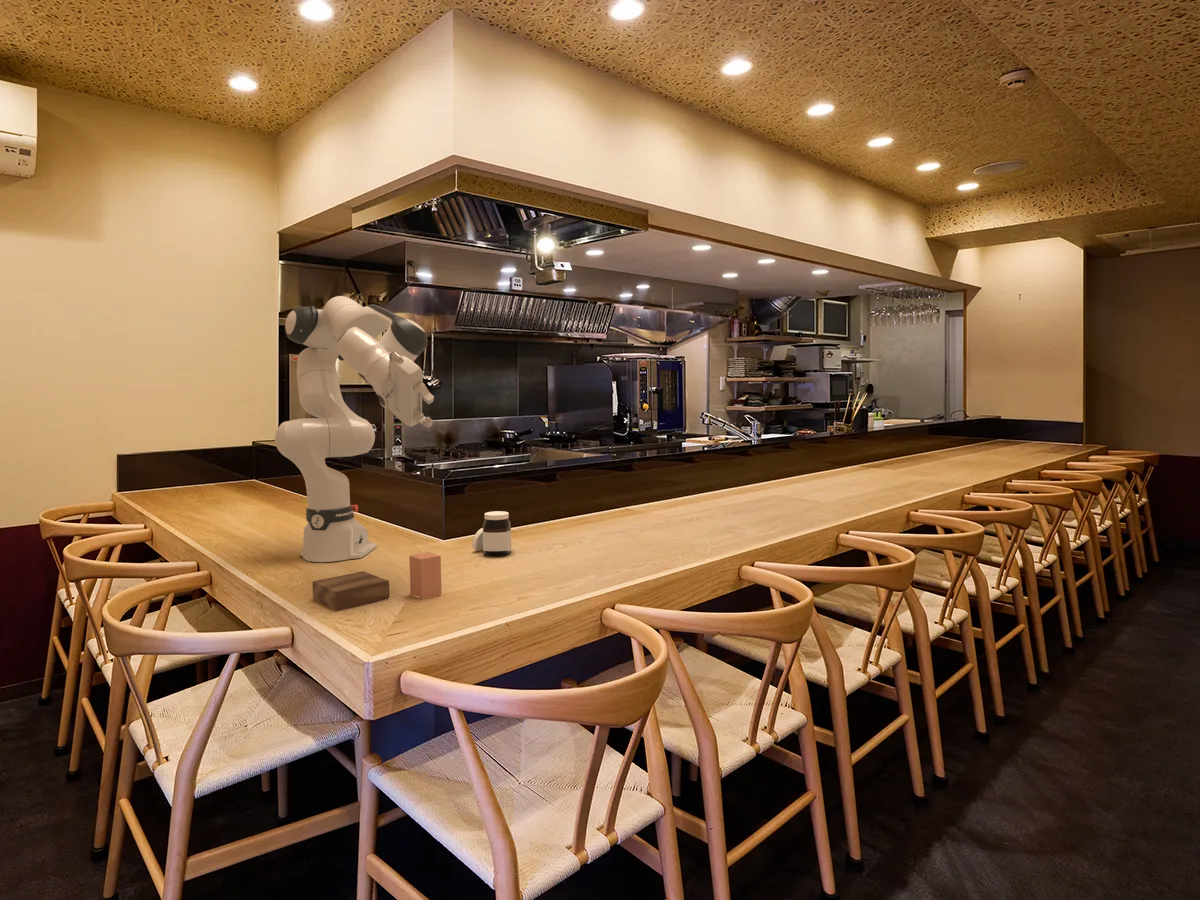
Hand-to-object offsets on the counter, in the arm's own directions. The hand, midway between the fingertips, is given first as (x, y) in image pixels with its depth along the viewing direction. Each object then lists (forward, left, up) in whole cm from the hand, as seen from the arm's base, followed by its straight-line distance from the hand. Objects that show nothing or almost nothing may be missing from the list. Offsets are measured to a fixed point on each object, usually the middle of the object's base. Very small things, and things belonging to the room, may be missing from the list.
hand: (431, 413), depth 161 cm
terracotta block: (+7, +1, -41) cm, 42 cm away
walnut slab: (+13, -14, -41) cm, 46 cm away
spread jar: (-35, +2, -41) cm, 54 cm away
